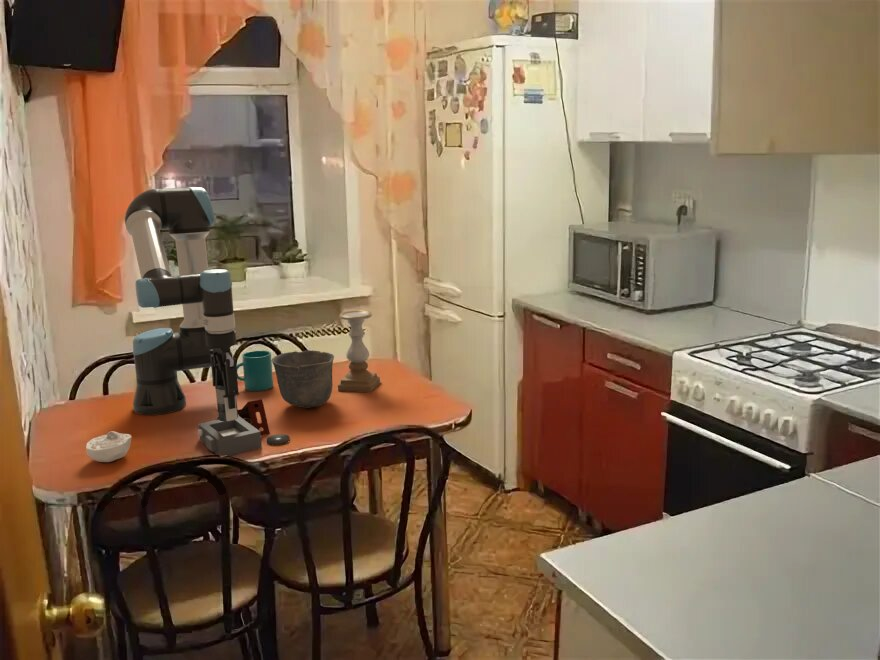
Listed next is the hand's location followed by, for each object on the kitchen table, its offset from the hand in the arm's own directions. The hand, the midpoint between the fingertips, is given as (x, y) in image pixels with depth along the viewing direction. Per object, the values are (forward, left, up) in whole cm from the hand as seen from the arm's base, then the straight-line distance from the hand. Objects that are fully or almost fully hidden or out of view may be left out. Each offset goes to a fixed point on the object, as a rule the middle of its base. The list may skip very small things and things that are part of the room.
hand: (228, 416), depth 218 cm
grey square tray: (0, 0, -8) cm, 8 cm away
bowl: (-16, +29, -8) cm, 35 cm away
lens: (0, 0, 0) cm, 0 cm away
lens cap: (+6, +11, -8) cm, 15 cm away
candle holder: (-23, +52, -8) cm, 57 cm away
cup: (-43, +24, -8) cm, 50 cm away
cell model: (-9, -28, -8) cm, 31 cm away
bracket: (-10, +7, -8) cm, 15 cm away
